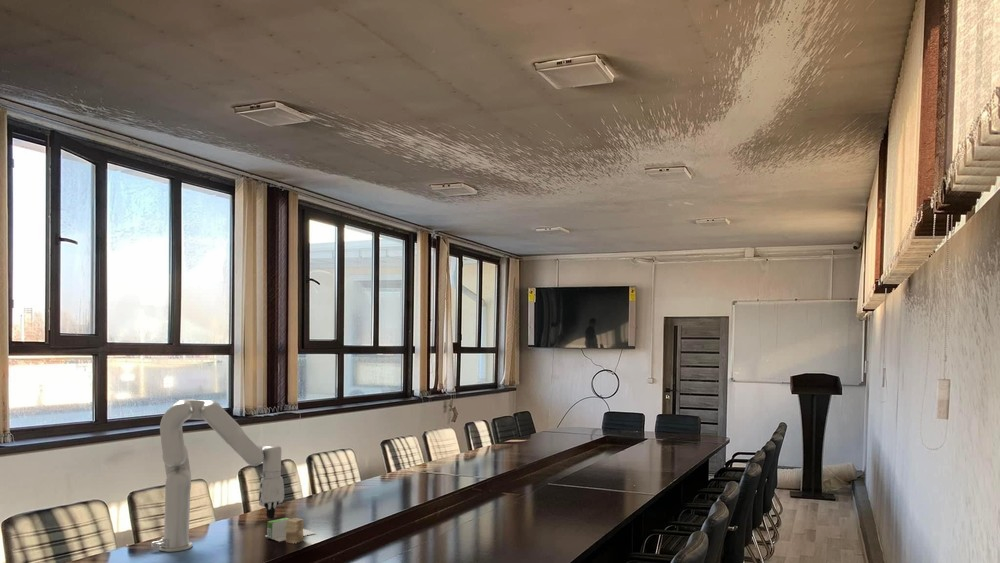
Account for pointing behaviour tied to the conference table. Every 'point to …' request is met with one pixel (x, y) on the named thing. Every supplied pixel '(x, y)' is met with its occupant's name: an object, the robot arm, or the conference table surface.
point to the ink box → (276, 528)
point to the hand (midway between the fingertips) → (270, 517)
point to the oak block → (294, 530)
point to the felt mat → (305, 533)
